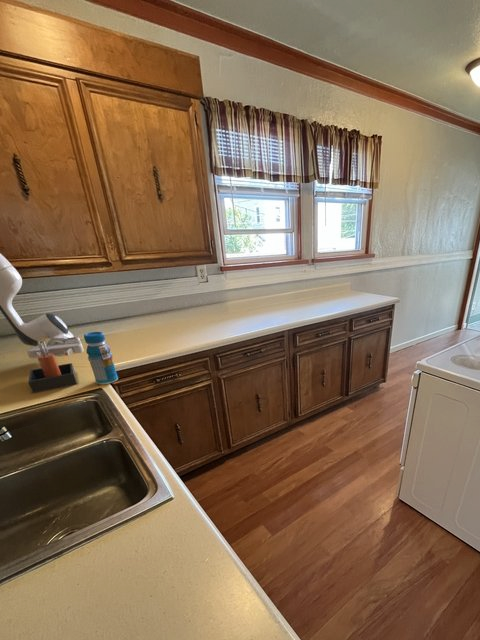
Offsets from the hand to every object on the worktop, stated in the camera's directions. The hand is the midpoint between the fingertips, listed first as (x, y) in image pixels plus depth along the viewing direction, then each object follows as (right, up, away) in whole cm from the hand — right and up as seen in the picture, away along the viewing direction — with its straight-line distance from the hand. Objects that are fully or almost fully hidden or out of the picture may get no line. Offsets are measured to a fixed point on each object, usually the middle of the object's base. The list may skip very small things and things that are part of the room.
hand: (53, 355), depth 138 cm
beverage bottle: (+25, -11, -3) cm, 28 cm away
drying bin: (+4, -12, -4) cm, 13 cm away
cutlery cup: (+4, -11, -4) cm, 12 cm away
